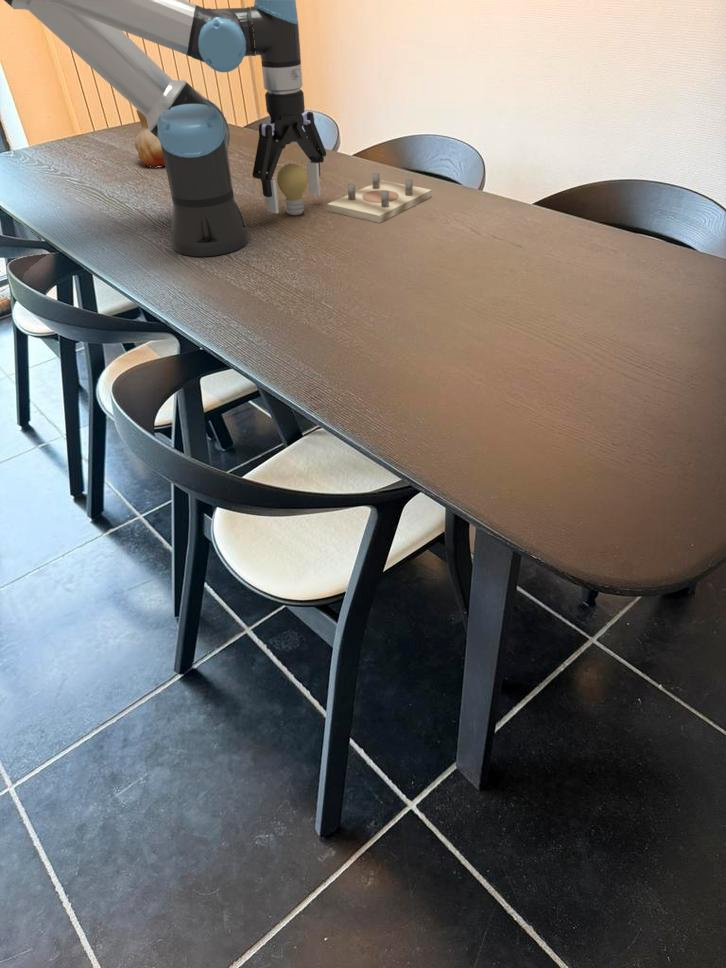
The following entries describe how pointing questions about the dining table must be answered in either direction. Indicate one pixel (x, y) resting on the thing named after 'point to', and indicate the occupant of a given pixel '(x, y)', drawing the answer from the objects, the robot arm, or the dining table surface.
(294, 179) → the light bulb
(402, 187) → the pin nest
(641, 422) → the dining table surface
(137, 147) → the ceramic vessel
